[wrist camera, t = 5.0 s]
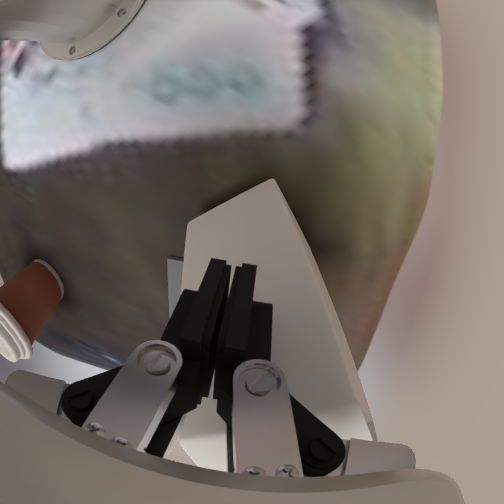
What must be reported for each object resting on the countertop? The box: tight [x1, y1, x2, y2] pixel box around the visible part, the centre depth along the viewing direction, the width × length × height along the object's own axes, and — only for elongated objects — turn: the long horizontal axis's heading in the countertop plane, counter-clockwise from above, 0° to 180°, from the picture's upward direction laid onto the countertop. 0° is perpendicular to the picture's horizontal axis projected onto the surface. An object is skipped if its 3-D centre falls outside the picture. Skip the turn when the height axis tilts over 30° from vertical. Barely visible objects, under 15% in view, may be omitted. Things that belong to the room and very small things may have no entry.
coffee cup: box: [0, 259, 64, 362], centre depth 23 cm, size 9×9×12 cm
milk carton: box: [178, 179, 378, 472], centre depth 14 cm, size 7×7×19 cm
